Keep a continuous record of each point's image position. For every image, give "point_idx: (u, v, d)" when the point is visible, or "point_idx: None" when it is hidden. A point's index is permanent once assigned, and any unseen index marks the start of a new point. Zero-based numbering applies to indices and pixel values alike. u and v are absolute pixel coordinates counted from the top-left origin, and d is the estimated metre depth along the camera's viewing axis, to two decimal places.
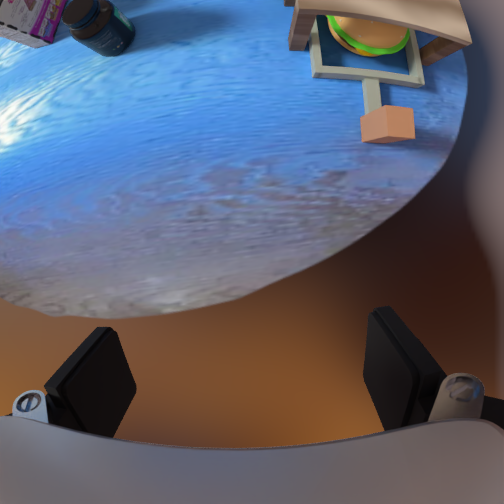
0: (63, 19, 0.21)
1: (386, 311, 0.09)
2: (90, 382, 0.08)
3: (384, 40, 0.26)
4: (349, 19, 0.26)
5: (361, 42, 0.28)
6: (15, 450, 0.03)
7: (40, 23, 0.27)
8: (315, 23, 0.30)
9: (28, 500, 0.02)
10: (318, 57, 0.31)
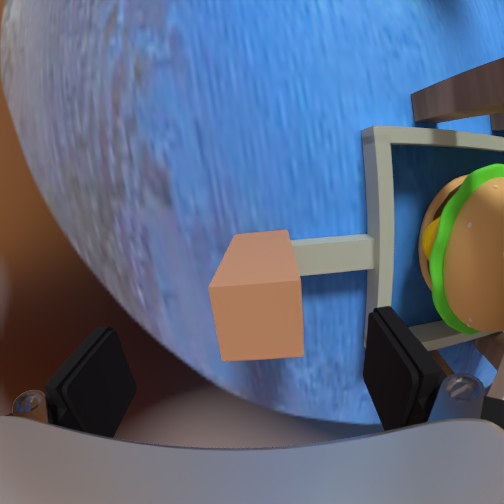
0: None
1: (386, 311, 0.09)
2: (90, 382, 0.08)
3: (464, 282, 0.13)
4: (503, 203, 0.12)
5: (454, 229, 0.14)
6: (15, 450, 0.03)
7: None
8: (473, 144, 0.15)
9: (28, 500, 0.02)
10: (407, 136, 0.15)
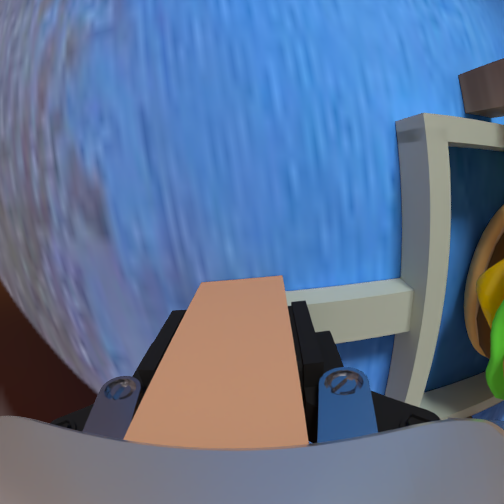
0: None
1: (299, 305, 0.10)
2: None
3: None
4: None
5: None
6: (15, 450, 0.03)
7: None
8: None
9: (28, 500, 0.02)
10: (469, 133, 0.08)
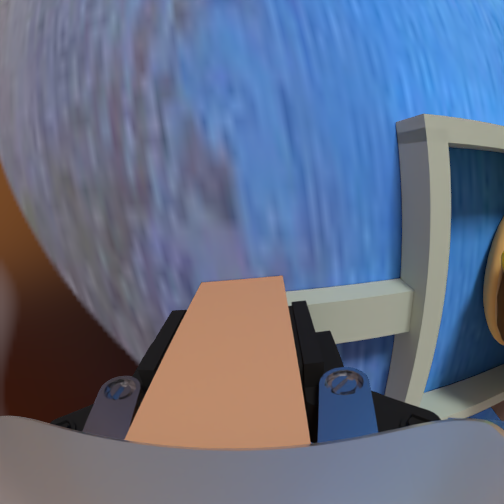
0: None
1: (299, 305, 0.10)
2: None
3: None
4: None
5: None
6: (15, 450, 0.03)
7: None
8: None
9: (28, 500, 0.02)
10: (469, 134, 0.08)
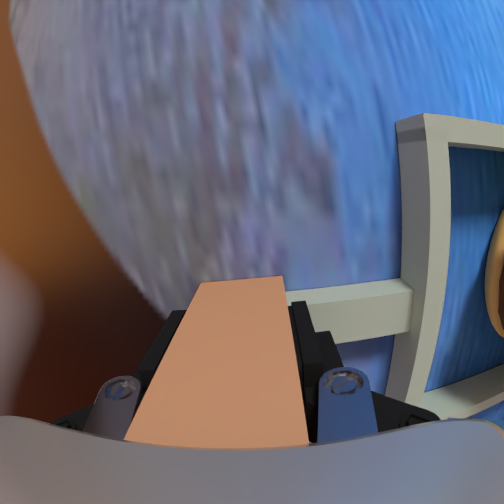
0: None
1: (299, 305, 0.10)
2: None
3: None
4: None
5: None
6: (15, 450, 0.03)
7: None
8: None
9: (28, 500, 0.02)
10: (469, 134, 0.08)
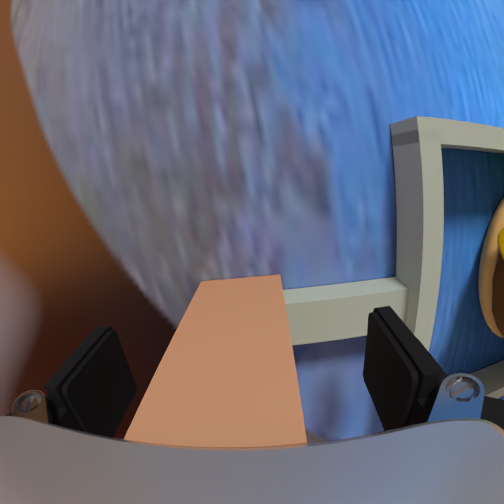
0: None
1: (386, 311, 0.09)
2: (90, 382, 0.08)
3: None
4: None
5: None
6: (15, 450, 0.03)
7: None
8: None
9: (28, 500, 0.02)
10: (462, 136, 0.09)
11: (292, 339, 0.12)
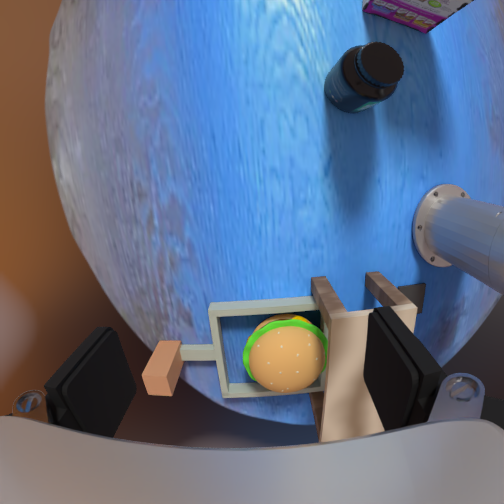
0: (372, 43, 0.22)
1: (386, 311, 0.09)
2: (90, 382, 0.08)
3: (252, 366, 0.37)
4: (275, 342, 0.36)
5: (254, 344, 0.38)
6: (15, 450, 0.03)
7: (390, 2, 0.25)
8: (266, 312, 0.39)
9: (28, 500, 0.02)
10: (224, 313, 0.39)
11: (183, 359, 0.43)
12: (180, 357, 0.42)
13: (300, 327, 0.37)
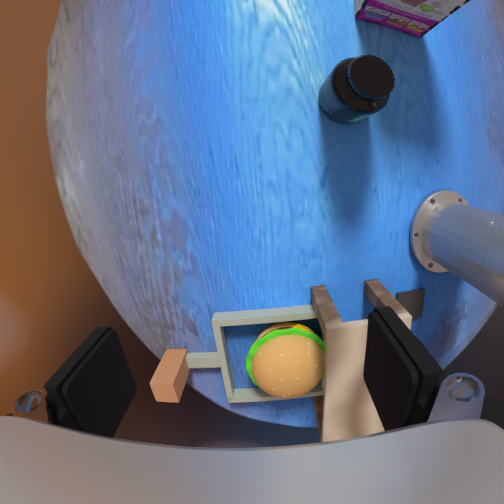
0: (362, 57, 0.23)
1: (386, 311, 0.09)
2: (90, 382, 0.08)
3: (254, 373, 0.38)
4: (276, 351, 0.37)
5: (256, 352, 0.39)
6: (15, 450, 0.03)
7: (382, 8, 0.26)
8: (267, 321, 0.40)
9: (28, 500, 0.02)
10: (227, 323, 0.41)
11: (189, 366, 0.44)
12: (186, 365, 0.44)
13: (300, 335, 0.39)
